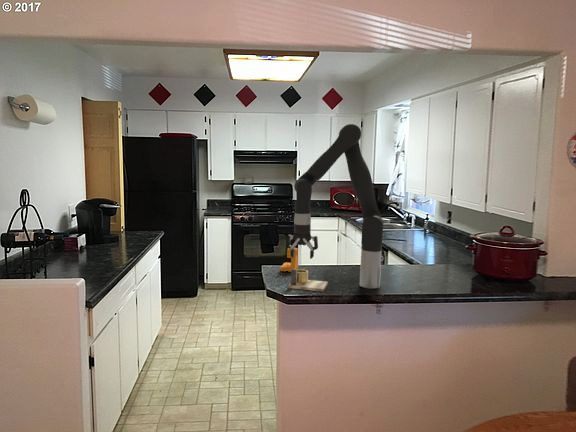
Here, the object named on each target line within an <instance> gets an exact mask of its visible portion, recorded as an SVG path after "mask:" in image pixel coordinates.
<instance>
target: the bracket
mask: <svg viewBox="0 0 576 432" xmlns="http://www.w3.org/2000/svg"><path fill="white" fill-rule="evenodd" d="M286 257H287V259H290V262H283V264H282V265H281V266H280V271H281V272H286V271H288V272H290V273H291V269H296V270H297V269H299V249H298V248H297V247H294V258H292V256H291V250H290V249H289V248H287V250H286ZM288 272H287V273H288Z"/></svg>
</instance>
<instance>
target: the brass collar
mask: <svg viewBox="0 0 576 432" xmlns="http://www.w3.org/2000/svg"><path fill="white" fill-rule="evenodd" d="M308 280H309V270H307V269H304V268H303V269H302V268H301V269H300V268H297V271H296V283H301V284H303V283H307V282H308Z"/></svg>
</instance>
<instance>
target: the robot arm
mask: <svg viewBox="0 0 576 432" xmlns="http://www.w3.org/2000/svg"><path fill="white" fill-rule="evenodd" d="M361 137H362V130H361V128H360V126H358V125H357V124H354V123H349V124H346V125H344V126H343V127H342V128H341V129H340V130H339V132H338V136H337V138H336V139H335V141H334V142H333V143H332V144H331V145H330V146H329V147H328V148H327V149H326V150H325V151H324V152H323V153H322V154H321V155H320V156H319V157H318V158H317V159H316V160H315V161H314V163H313V164H312V165H311V166H310V167H309V168H308V169H307V170H306V172H304V173H303V174H302V175H301V176H300V177H299V178H298V179H297V180H296V181H295V183H294V191H295V192H296V194H295V195H296V197H295V198H296V199H295V202H294V218H293V223H294V224H293V226H294V227H293V235H292V234H288V235H287V236H286V245H285V246H286V248H287V249H288V248H289V249H290V250H291V256H292V258H294V248H296V246H297V245H298V246H307V247H308V248H309V250H310V251H309V259H313V258H314V256H315V251H316V250H318V248H319V244H318V242H319V239H318V238H319V237H318V235H315V236H313V235H311V229H312V228H311V227H312V226H311V223H312V221H311V220H312V219H311V218H312V216H311V200H312V192H313V191H312V190H313V188H312V186H313V185H314V184H316V182H318V181H320V180H321V179H322V178H323V177H324V176H325V175H326V173H328V171H329V170H330V169H331V168H332V167H333V166H334V164H335V163H336V162H337V161H338V159H340V157H341V156H342V155H343V154H344V156H345V159H346V163H347V164H346V165H347V170H348V174H349V179H350V183H351V186H352V189H353V190H352V191H353V192H354V195H355V197H356V199H357V201H358V203H359V206H360V210H361V215H362V221H363V222H362V224H361V225H362V226H361V248H360V249H361V251H360V252H361V253H360V268H359V270H360V271H359V286H360V287H362V288H364V289H380V287H381V272H382V271H381V270H382V251H383V233H384V221H383V218H382V216H381V213H380V211H379V207H378V205H377V201H376V194H375V189H374V188H375V187H374V183H373V179H372V176H371V172H370V169H369V166H368V165H367V163H366V161H365V159H364V157H363V155H362V151H361V148H360V140H361ZM291 240H294V243H292V245H291ZM311 240H312V241H313V244H312V242H311Z"/></svg>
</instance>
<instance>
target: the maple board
mask: <svg viewBox="0 0 576 432" xmlns="http://www.w3.org/2000/svg"><path fill="white" fill-rule="evenodd" d="M296 271H297V270H296V269H291V272H290V282H289V283H288V285H287V289H293V290H294V289H295V290H296V289H297V290H302V291H303V290H304V291H314V292H322V293H323V292H324V291H325V289H326V288H327V286H328V284H329V283H328V282H329V281H325V280H313V279H308V282H307V283H303V284H301V283H296Z"/></svg>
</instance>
